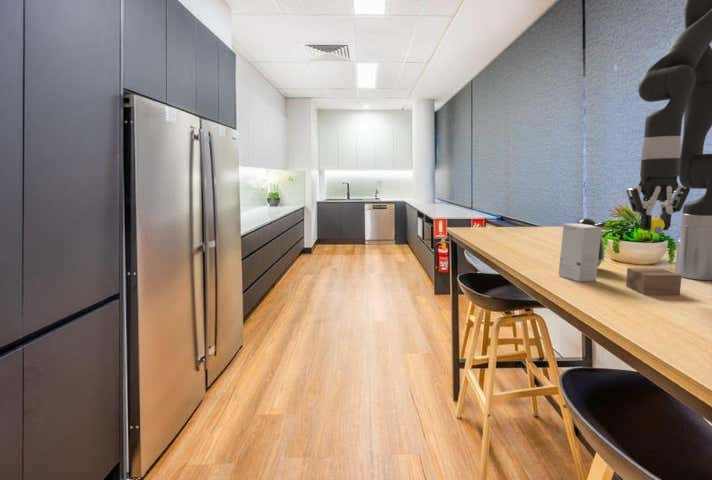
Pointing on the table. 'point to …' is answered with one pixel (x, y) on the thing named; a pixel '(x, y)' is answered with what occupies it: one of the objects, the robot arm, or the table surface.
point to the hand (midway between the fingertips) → (654, 229)
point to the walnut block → (653, 281)
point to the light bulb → (657, 225)
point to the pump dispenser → (601, 250)
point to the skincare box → (580, 252)
